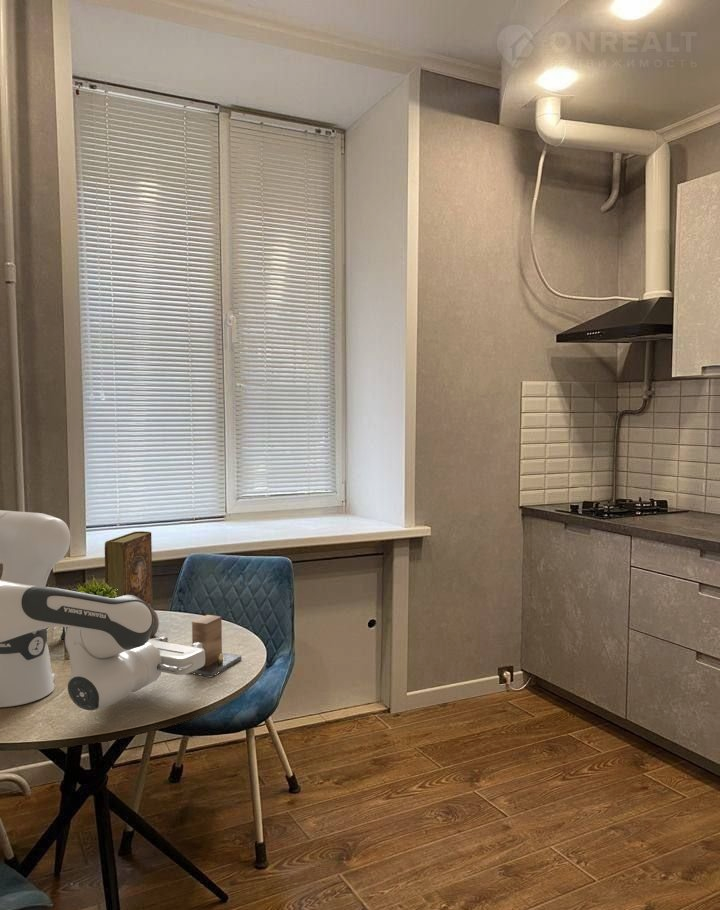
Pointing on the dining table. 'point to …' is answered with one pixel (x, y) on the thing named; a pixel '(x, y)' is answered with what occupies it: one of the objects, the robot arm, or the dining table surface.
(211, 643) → the board block
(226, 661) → the pin plate
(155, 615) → the vase
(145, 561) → the book
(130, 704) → the dining table surface
